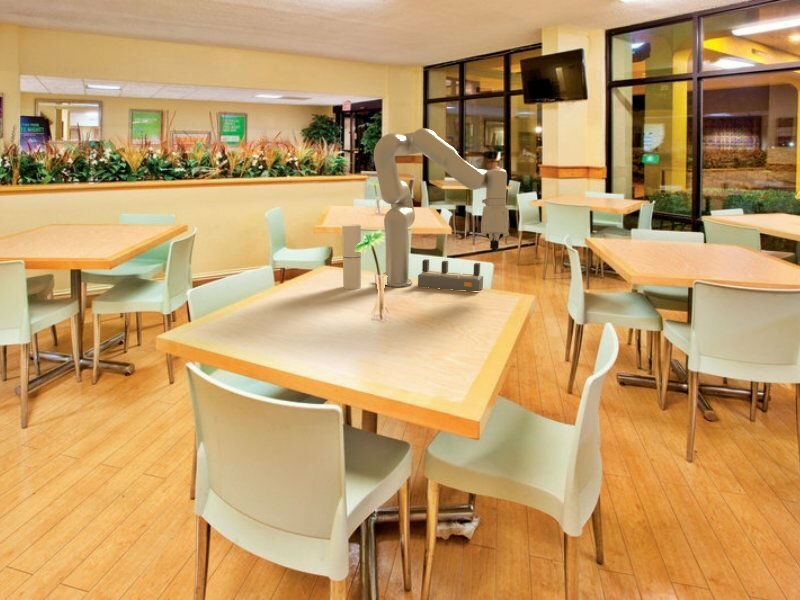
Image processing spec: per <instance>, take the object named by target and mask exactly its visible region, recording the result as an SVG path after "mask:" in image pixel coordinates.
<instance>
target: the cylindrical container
mask: <svg viewBox="0 0 800 600" xmlns="http://www.w3.org/2000/svg"><path fill="white" fill-rule="evenodd" d="M341 226H342V227H341V228H342V229H341V230H342V231H341V232H342V234H341V235H342V272H343V273H342V274H343V275H342V278H343V279H342V282H343V289H346V290H358V289H361V288H362V257H361V255H362V251H361V252H355V251H354V250H355V246H356V245H357V244H358V243H360V242H362V239H361V238H362V237H361V231H362V230H361V227H362V226H361V224H354V223H352V224H351V223H350V224H349V223H346V224H342V225H341Z"/></svg>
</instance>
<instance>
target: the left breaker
mask: <svg viewBox="0 0 800 600" xmlns="http://www.w3.org/2000/svg"><path fill="white" fill-rule="evenodd" d="M421 265H422V268H421V271H422V272H423V271H426V272H427V271H430V259H423V260H422V264H421Z"/></svg>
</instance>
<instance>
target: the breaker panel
mask: <svg viewBox="0 0 800 600" xmlns="http://www.w3.org/2000/svg"><path fill="white" fill-rule="evenodd" d="M418 287H427V288H426V289H430V288H440V289H439V290H442V289H453V290H452V291H454V290H466V291H480V289H482V290H483V287H484V276H483V275H481V273H480V274H479V276H478V275H474V273H465V272H464V273H463V272H462V273H461V272H451V271H448V272H447V273H441V270H440V271H439V270H429V271H427V272H426V271H422V272H420V274H418V276H417V288H418ZM428 287H429V288H428ZM480 292H481V291H480Z"/></svg>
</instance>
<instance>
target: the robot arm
mask: <svg viewBox="0 0 800 600" xmlns="http://www.w3.org/2000/svg"><path fill="white" fill-rule="evenodd" d="M415 154H422V155H423V156H425V157H427V158H428V159H429V160H430V161H431V162H433V163H434V164H436V165H437V166H438V167H440V169H442V170H443V171H444V172H446V173H447V174H448V175H449V176H451V178H452V179H454V180H455V181H457V182H459V183H460V184H461V185H462V186H464V187H465V188H467V189H469V190H471V191H474V190H475V191H476V190H480V189H486V190H485V193H486V194H485V199H482V200H481V203H482V204H484V205H485V206H483V207H482V212H481V213H482V214H481V222H480V225H481V226H480V235H481V236H485V237H487V239H488V240H489V241H490V244H489V247H490V249H491V252H496V251H498V250H499V244H500V242H499V241H500V239H501V238H503V237H508V236H510V233H509V230H510V229H509V224H510V223H509V222H510V221H509V219H510V218H509V208H508V206H507V205H506V204H507V187H508V186H507V185H508V183H507V182H508V173H507V170H506V169H497V168H496V169H483V168H476V167H474V166H473V165H471V164H470V163H469V162H467V161H466V160H465V159H464V158H462V157H461V156H460V155H459V153H458V152H457V150H456V149H455V148H454V147H453V146H451V145H450V144H449V143H447V142H446V141H444V140H443V139H442V138H441V137H439V136H438V134H437V133H436V132H435V131H434V130H432V129H429V128H425V127H422V128H419V129H417V130H415V131H413V132H412V131H411V132H408V133H402V134H401V133H396V132H390V133H388V134H385V135H383V136H382V137H381V138H379V140H378V141H377V143H376V144H375V146H374V150H373V161H374V166H375V171H376V174H377V175H376V176H377V182H378V186H379V192H380V195H381V196H380V197H381V198H382V200H383V202H385V203H386V204H389V205H390V208H389V210H387V212H385V215H384V219H383V224H384V225H383V227H384V234H385V237H384V238H385V272H382V273H383V274H386V275H387V276H388V277H387V286H386V287H391V286H393V287H392V288H394V287H395V288H396V287H397V288H402V287H401V286H404V287H409V286H412V284H413V280H411V279H409V271H410V269H409V261H410V259H409V258H410V257H409V256H410V255H409V254H410V247H409V246H410V237H409V227H411V226H413V224H414V222H415V219H416V213H415V208H414V204H413V198H412V194H411V190H410V187H409V185H408V184H407V182H405V180H402V179H401V178H400V173H399V170H398V165H397V163H396V158H395V157H403V156H409V155H415ZM494 234H496V235H495V238H494ZM408 285H409V286H408Z"/></svg>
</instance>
